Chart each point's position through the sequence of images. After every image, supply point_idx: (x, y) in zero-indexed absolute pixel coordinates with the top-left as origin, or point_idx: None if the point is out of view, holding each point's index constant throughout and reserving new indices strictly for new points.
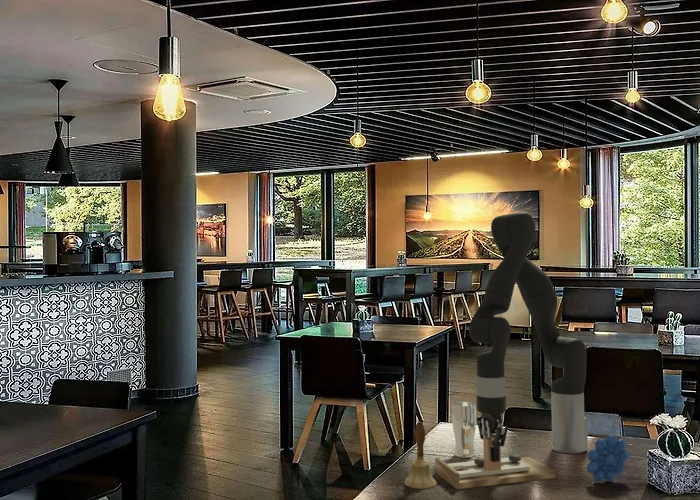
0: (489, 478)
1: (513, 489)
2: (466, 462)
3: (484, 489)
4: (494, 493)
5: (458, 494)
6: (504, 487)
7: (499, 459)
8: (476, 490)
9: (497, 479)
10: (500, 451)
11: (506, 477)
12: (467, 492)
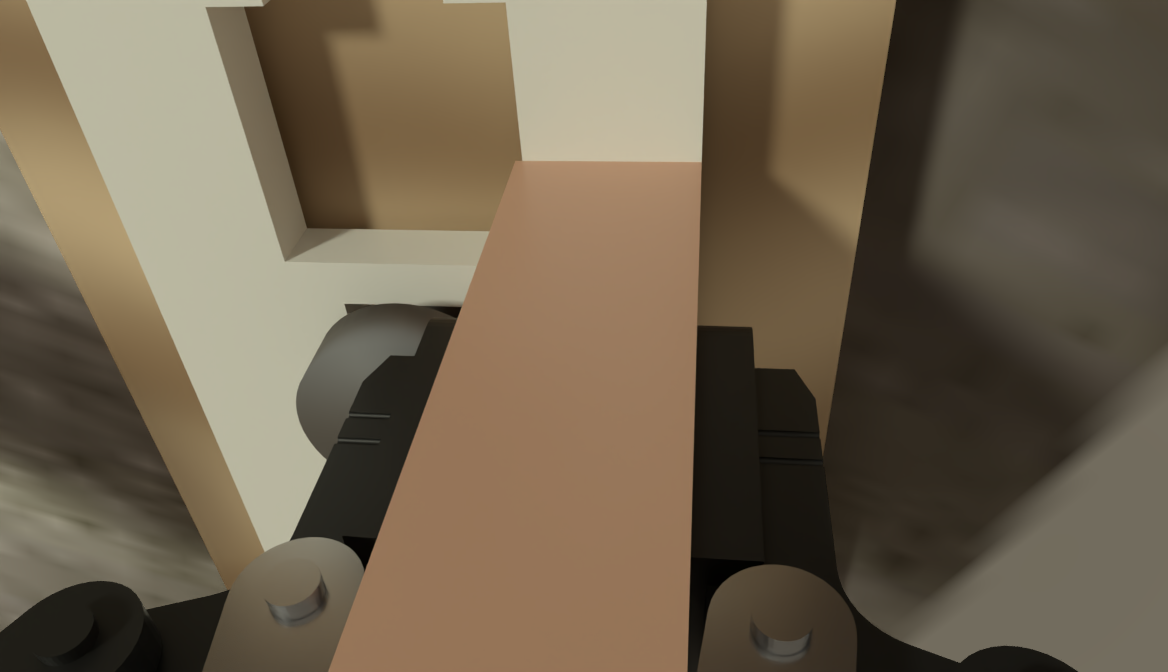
0: (798, 344)
1: (1156, 88)
2: (244, 440)
3: (924, 407)
4: (1115, 374)
5: (921, 627)
6: (997, 170)
7: (750, 336)
8: (907, 481)
9: (852, 247)
10: (691, 398)
11: (869, 101)
12: (915, 560)
